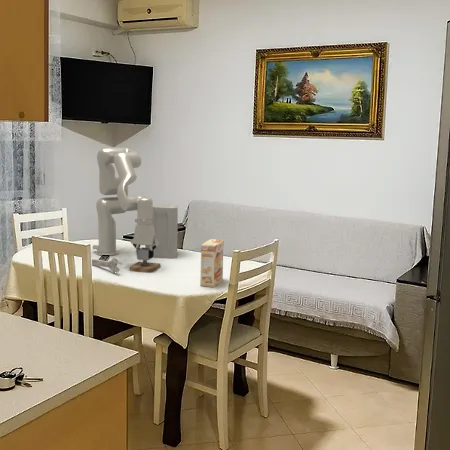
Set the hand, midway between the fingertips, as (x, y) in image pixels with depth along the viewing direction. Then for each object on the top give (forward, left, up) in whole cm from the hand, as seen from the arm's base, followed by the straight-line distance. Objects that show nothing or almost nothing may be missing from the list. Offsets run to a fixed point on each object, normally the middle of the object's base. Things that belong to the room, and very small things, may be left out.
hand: (145, 257), depth 298 cm
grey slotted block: (0, 0, -1) cm, 1 cm away
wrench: (-19, -7, -7) cm, 21 cm away
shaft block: (0, 0, -6) cm, 6 cm away
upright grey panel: (0, +31, -6) cm, 32 cm away
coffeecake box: (+39, -13, -6) cm, 42 cm away
